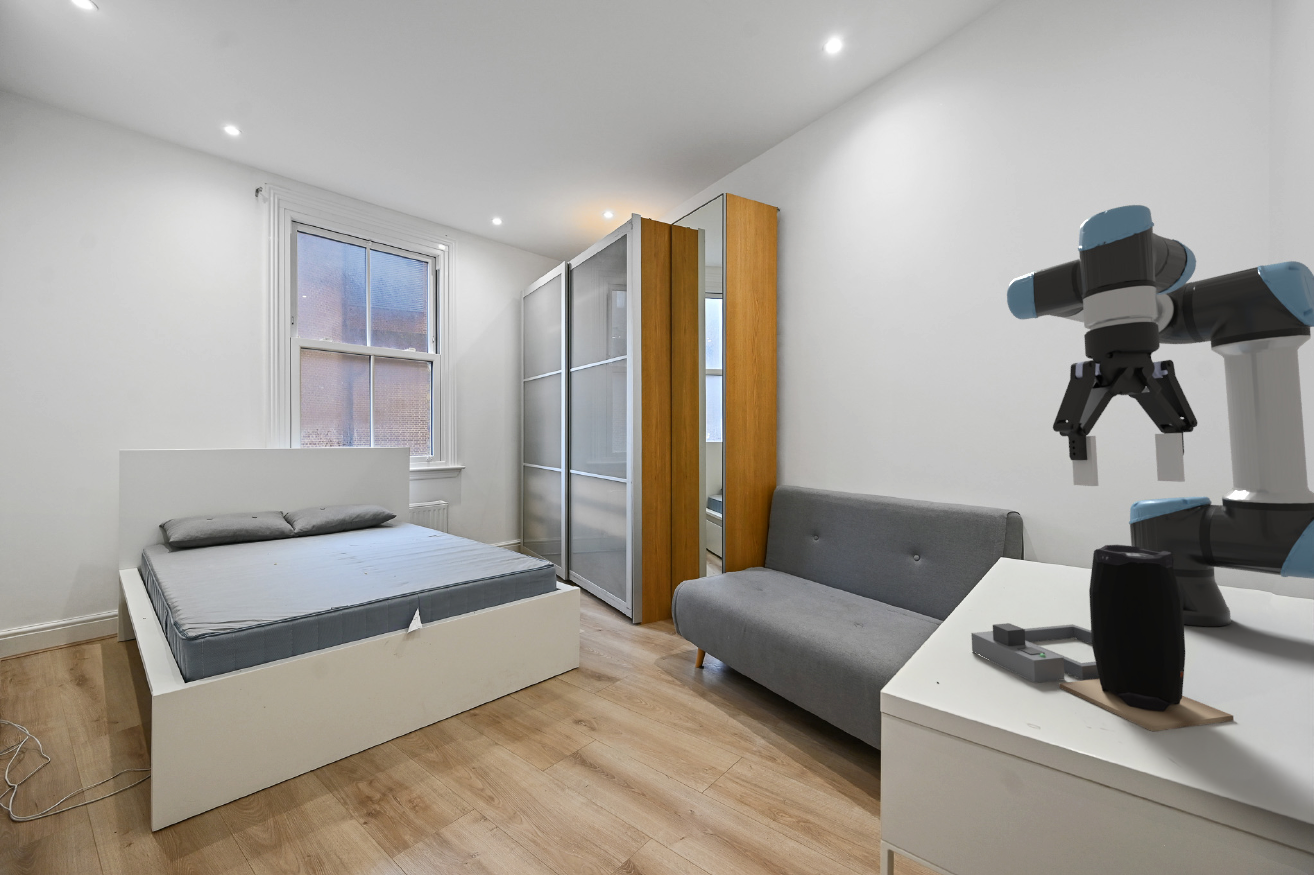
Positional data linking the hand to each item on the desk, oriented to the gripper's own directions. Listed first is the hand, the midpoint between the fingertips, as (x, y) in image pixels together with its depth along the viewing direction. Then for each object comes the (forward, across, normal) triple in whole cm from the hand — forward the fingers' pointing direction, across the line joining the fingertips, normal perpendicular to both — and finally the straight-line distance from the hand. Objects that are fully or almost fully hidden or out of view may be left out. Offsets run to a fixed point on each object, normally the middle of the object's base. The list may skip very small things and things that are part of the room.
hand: (1129, 483), depth 70 cm
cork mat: (+29, 0, 0) cm, 29 cm away
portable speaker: (+28, +1, 0) cm, 29 cm away
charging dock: (+29, -5, -15) cm, 33 cm away
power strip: (+29, +6, -14) cm, 33 cm away
